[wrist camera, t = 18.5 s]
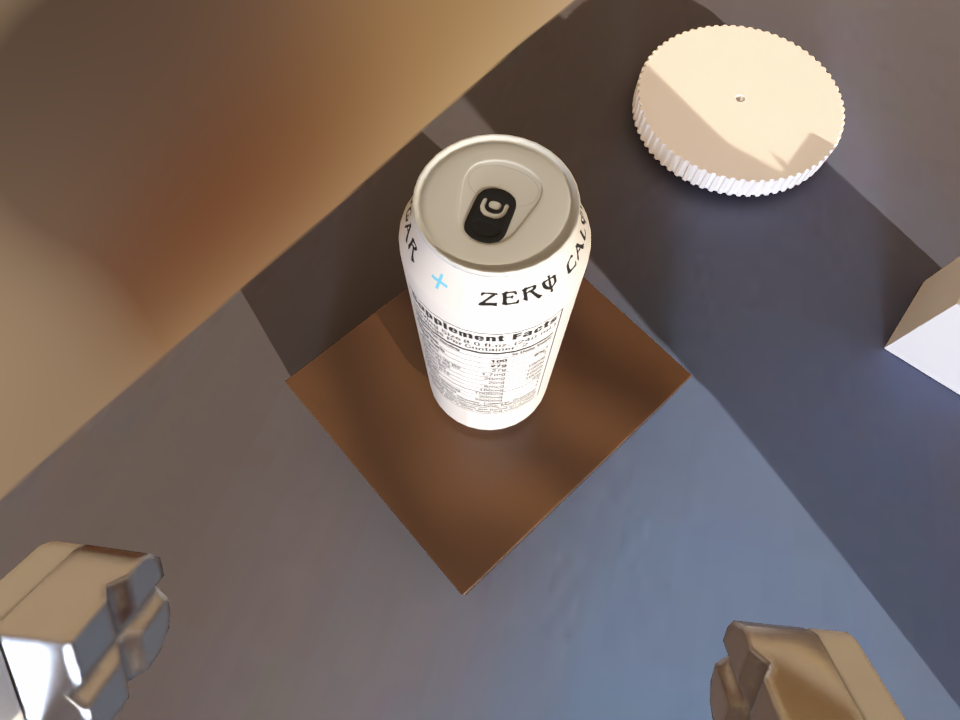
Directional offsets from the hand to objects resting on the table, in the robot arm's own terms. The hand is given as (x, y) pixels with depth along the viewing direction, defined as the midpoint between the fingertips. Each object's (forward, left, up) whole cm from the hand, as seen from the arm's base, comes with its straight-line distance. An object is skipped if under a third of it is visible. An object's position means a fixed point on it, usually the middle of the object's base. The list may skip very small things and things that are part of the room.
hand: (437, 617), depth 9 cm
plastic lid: (-29, -23, -24) cm, 44 cm away
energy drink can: (-5, -10, -20) cm, 23 cm away
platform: (-5, -10, -24) cm, 27 cm away
